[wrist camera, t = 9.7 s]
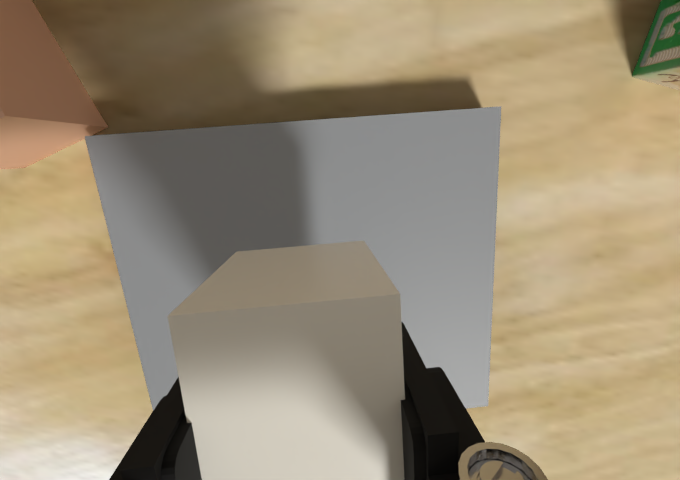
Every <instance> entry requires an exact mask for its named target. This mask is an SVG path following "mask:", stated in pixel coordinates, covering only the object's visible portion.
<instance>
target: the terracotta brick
mask: <svg viewBox="0 0 680 480" xmlns="http://www.w3.org/2000/svg"><path fill="white" fill-rule="evenodd" d="M106 128H108V126H107V124H106V123H105V121H104V119H103V118H102V116H101V114H100V113H99V111H98V110H97V108H96V106H95V105H94V103H93V101H92V100H91V98H90V96H89V95H88V93H87V91H86V90H85V88H84V86H83V85H82V83H81V81H80V80H79V78H78V76H77V75H76V73H75V71H74V70H73V68H72V66H71V65H70V63H69V61H68V60H67V58H66V56H65V55H64V53H63V51H62V50H61V48H60V46H59V45H58V43H57V41H56V40H55V38H54V36H53V35H52V33H51V31H50V30H49V28H48V26H47V25H46V23H45V21H44V20H43V18H42V17H41V15H40V13H39V12H38V10H37V8H36V7H35V5H34V3H33V2H32V0H0V169H11V168H25V167H27V166H29V165H31V164H34V163H36V162H38V161H40V160H42V159H44V158H46V157H48V156H50V155H52V154H54V153H56V152H58V151H60V150H62V149H64V148H66V147H69V146H71V145H73V144H75V143H77V142H79V141H81V140H83V139H85V136H91V135H93V134H95V133H97V132H99V131H102V130H104V129H106Z"/></svg>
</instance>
